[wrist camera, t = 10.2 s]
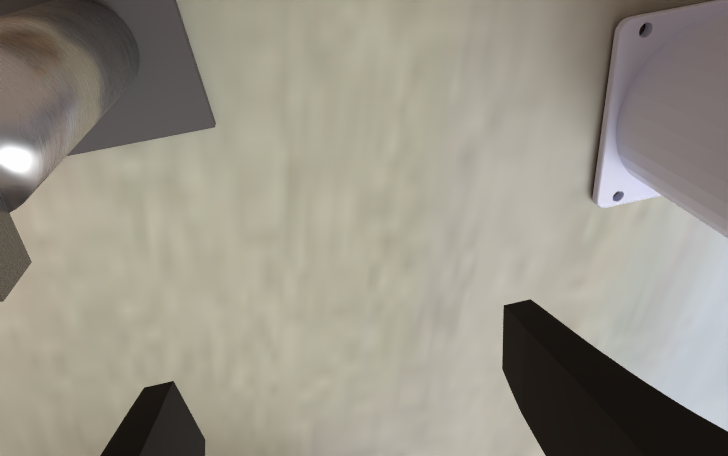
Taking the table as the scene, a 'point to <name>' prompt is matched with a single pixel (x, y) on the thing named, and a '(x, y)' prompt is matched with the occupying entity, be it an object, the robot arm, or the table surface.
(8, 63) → the grey upright piece
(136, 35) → the rubber mat
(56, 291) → the table surface
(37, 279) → the table surface
